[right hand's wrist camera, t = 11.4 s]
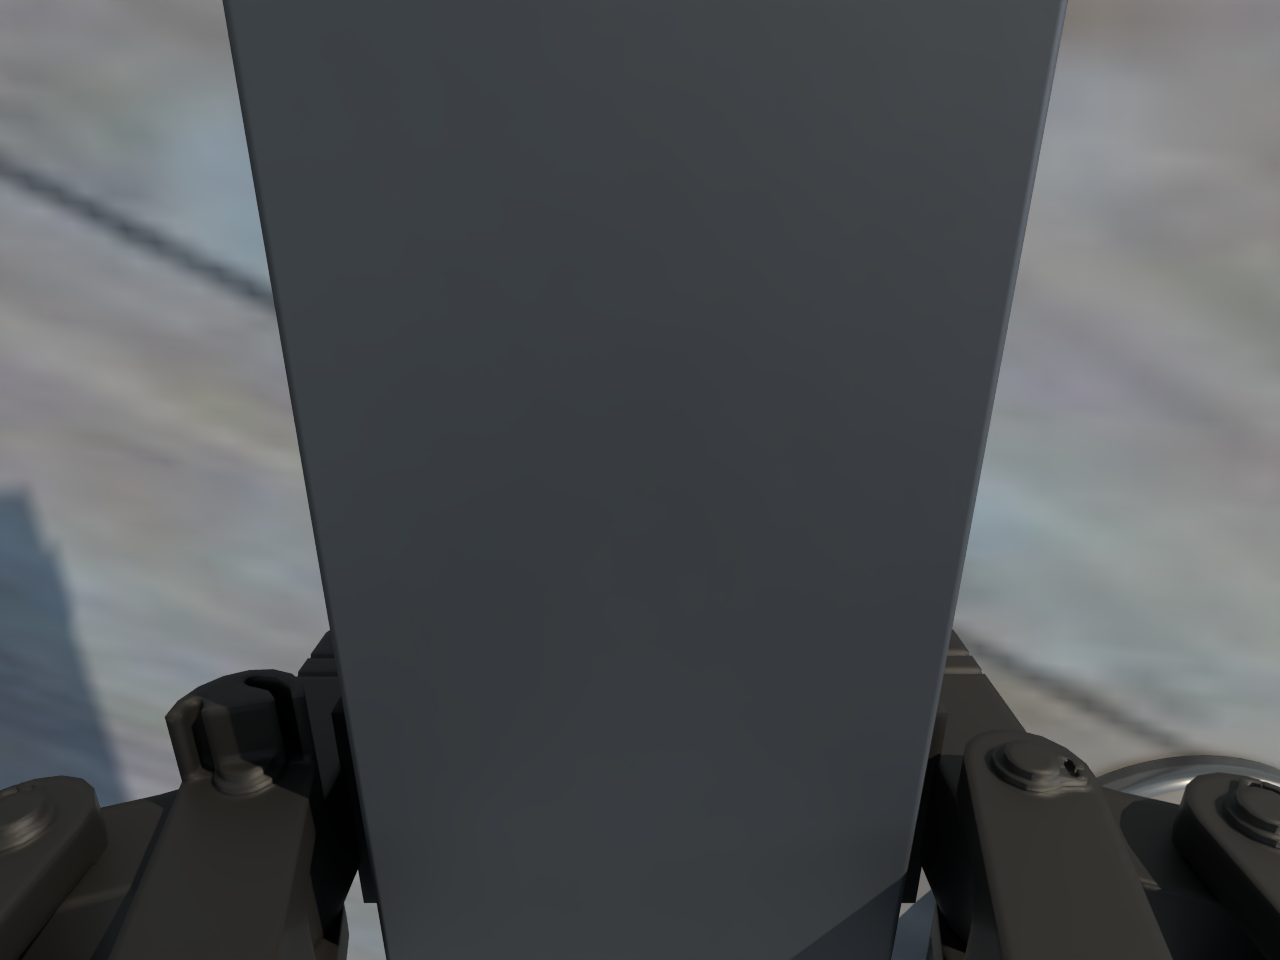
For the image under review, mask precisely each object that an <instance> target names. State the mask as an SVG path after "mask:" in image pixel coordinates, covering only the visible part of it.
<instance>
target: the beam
mask: <svg viewBox="0 0 1280 960" xmlns="http://www.w3.org/2000/svg"><path fill="white" fill-rule="evenodd" d="M1067 2H1068V0H223V6H224V12H225V18H226V23H227V29H228V35H229V41H230V47H231V53H232V59H233V64H234V70H235V76H236V82H237V88H238V94H239V99H240V105H241V111H242V117H243V123H244V129H245V135H246V140H247V146H248V152H249V158H250V164H251V170H252V176H253V181H254V187H255V193H256V199H257V205H258V211H259V217H260V222H261V228H262V234H263V240H264V246H265V252H266V257H267V263H268V269H269V275H270V281H271V287H272V293H273V298H274V304H275V310H276V316H277V322H278V328H279V334H280V339H281V345H282V351H283V357H284V363H285V369H286V375H287V380H288V386H289V392H290V398H291V404H292V410H293V415H294V421H295V427H296V433H297V439H298V445H299V451H300V456H301V462H302V468H303V474H304V480H305V486H306V492H307V497H308V503H309V509H310V515H311V521H312V527H313V532H314V538H315V544H316V550H317V556H318V562H319V568H320V573H321V579H322V585H323V591H324V597H325V603H326V609H327V614H328V620H329V626H330V632H331V638H332V644H333V650H334V655H335V661H336V667H337V673H338V679H339V685H340V690H341V696H342V702H343V708H344V714H345V720H346V726H347V731H348V737H349V743H350V749H351V755H352V761H353V767H354V772H355V778H356V784H357V790H358V796H359V802H360V807H361V813H362V819H363V825H364V831H365V837H366V843H367V848H368V854H369V860H370V866H371V872H372V878H373V884H374V889H375V895H376V901H377V907H378V913H379V919H380V925H381V930H382V936H383V942H384V948H385V954H386V960H891V956H892V951H893V945H894V940H895V935H896V929H897V924H898V918H899V913H900V908H901V902H902V897H903V891H904V886H905V880H906V875H907V870H908V864H909V859H910V853H911V848H912V842H913V837H914V832H915V826H916V821H917V815H918V810H919V805H920V799H921V794H922V788H923V783H924V777H925V772H926V767H927V761H928V756H929V750H930V745H931V740H932V734H933V729H934V723H935V718H936V712H937V707H938V702H939V696H940V691H941V685H942V680H943V674H944V669H945V664H946V658H947V653H948V647H949V642H950V637H951V631H952V626H953V620H954V615H955V609H956V604H957V599H958V593H959V588H960V582H961V577H962V572H963V566H964V561H965V555H966V550H967V544H968V539H969V534H970V528H971V523H972V517H973V512H974V506H975V501H976V496H977V490H978V485H979V479H980V474H981V469H982V463H983V458H984V452H985V447H986V441H987V436H988V431H989V425H990V420H991V414H992V409H993V404H994V398H995V393H996V387H997V382H998V376H999V371H1000V366H1001V360H1002V355H1003V349H1004V344H1005V338H1006V333H1007V328H1008V322H1009V317H1010V311H1011V306H1012V301H1013V295H1014V290H1015V284H1016V279H1017V273H1018V268H1019V263H1020V257H1021V252H1022V246H1023V241H1024V236H1025V230H1026V225H1027V219H1028V214H1029V208H1030V203H1031V198H1032V192H1033V187H1034V181H1035V176H1036V170H1037V165H1038V160H1039V154H1040V149H1041V143H1042V138H1043V133H1044V127H1045V122H1046V116H1047V111H1048V105H1049V100H1050V95H1051V89H1052V84H1053V78H1054V73H1055V68H1056V62H1057V57H1058V51H1059V46H1060V40H1061V35H1062V30H1063V24H1064V19H1065V13H1066V8H1067Z"/></svg>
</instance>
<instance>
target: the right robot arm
mask: <svg viewBox="0 0 1280 960" xmlns="http://www.w3.org/2000/svg"><path fill="white" fill-rule="evenodd" d="M981 671H982V669H981V668H980V667H979V665H978V664H977V662H976V661H975V660H974V658H973V657H972V656H969V651H968V650H967V648H966V647H965V646H964V644H963V643H962V641H961V640H960V639H959V637H958V636H957V634H956V633H955V632H954V630H953V629H952V631H951V637H950V642H949V647H948V653H947V658H946V664H945V669H944V674H943V680H942V685H941V691H940V696H939V702H938V707H937V712H936V718H935V723H934V729H933V734H932V740H931V745H930V750H929V756H928V761H927V767H926V772H925V777H924V783H923V788H922V794H921V799H920V805H919V810H918V815H917V821H916V826H915V832H914V837H913V842H912V848H911V853H910V859H909V864H908V870H907V875H906V880H905V886H904V891H903V897H902V902H901V903H915V902H916V896H917V891H918V885H919V879H920V873H921V868H923V870H924V873H925V875H926V877H927V880H928V882H929V885H930V887H931V889H932V892H933V894H934V896H935V899H936V906H935V911H934V917H933V922H932V927H931V933H930V938H929V943H928V949H927V954H926V959H925V960H1280V770H1279V769H1277V768H1274V767H1271V766H1268V765H1265V764H1262V763H1259V762H1255V761H1250V760H1246V759H1241V758H1234V757H1226V756H1209V755H1200V756H1181V757H1172V758H1164V759H1159V760H1153V761H1148V762H1143V763H1140V764H1136V765H1132V766H1128V767H1125V768H1122V769H1119V770H1116V771H1113V772H1110V773H1107V774H1105V775H1102V776H1100V777H1097V778H1096V777H1095V776H1094V774H1093V773H1092V771H1091V770H1090V769H1089V767H1088V766H1087V764H1086V763H1085V762H1083V761H1082V760H1081V759H1080V758H1078V757H1077V756H1076V755H1074V754H1073V753H1072V752H1071V751H1069V750H1068V749H1067V748H1065V747H1063V746H1061V745H1059V744H1057V743H1055V742H1053V741H1051V740H1048V739H1046V738H1044V737H1042V736H1038V735H1034V734H1031V733H1027V732H1026V731H1025V729H1024V728H1023V727H1022V725H1021V724H1020V722H1019V721H1018V720H1017V718H1016V717H1015V715H1014V714H1013V713H1012V711H1011V710H1010V708H1009V707H1008V706H1007V704H1006V703H1005V701H1004V700H1003V699H1002V697H1001V696H1000V694H999V693H998V692H997V690H996V689H995V688H994V686H993V685H992V683H991V682H990V681H989V679H988V678H987V676H986V675H985V674H982V672H981ZM165 719H166V723H167V727H168V731H169V734H170V738H171V742H172V746H173V749H174V753H175V757H176V761H177V764H178V768H179V772H180V775H181V779H182V783H181V786H180V788H179V789H178V790H174V791H171V792H168V793H164V794H161V795H156V796H152V797H147V798H143V799H138V800H134V801H130V802H125V803H121V804H116V805H112V806H107V807H103V808H100V806H99V802H98V799H97V796H96V793H95V790H94V788H93V787H92V786H91V785H89V784H88V783H87V782H86V781H85V780H83V779H81V778H75V777H68V776H54V777H47V778H39V779H33V780H30V781H27V782H23V783H20V784H18V785H14V786H11V787H8V788H6V789H3V790H1V791H0V960H346V959H347V949H348V940H349V931H348V923H347V917H346V911H345V906H344V901H345V899H346V896H347V894H348V892H349V889H350V887H351V884H352V882H353V880H354V877H355V875H356V872H357V870H358V871H359V877H360V883H361V889H362V894H363V900H364V903H377V901H376V895H375V889H374V884H373V878H372V872H371V866H370V860H369V854H368V848H367V843H366V837H365V831H364V825H363V819H362V813H361V807H360V802H359V796H358V790H357V784H356V778H355V772H354V767H353V761H352V755H351V749H350V743H349V737H348V731H347V726H346V720H345V714H344V708H343V702H342V696H341V690H340V685H339V679H338V673H337V667H336V661H335V655H334V650H333V644H332V638H331V632H330V630H329V631H328V632H326V634H325V635H324V636H323V638H322V639H321V641H320V642H319V643H318V645H317V646H316V648H315V649H314V651H313V652H312V653H311V658H308V659H307V660H306V662H305V663H304V665H303V666H302V667H301V669H300V670H299V672H298V677H295V676H294V675H293V674H291V673H287V672H282V671H278V670H274V669H267V670H248V671H244V672H239V673H235V674H231V675H226V676H223V677H220V678H218V679H216V680H213V681H211V682H209V683H206V684H204V685H201V686H199V687H197V688H196V689H194V690H193V691H192V692H190V693H189V694H187V695H186V696H184V697H183V698H181V699H180V700H178V701H177V702H176V704H175V705H174V706H173V707H172V709H171V710H170V711H169V712H168V714H167V715H166V716H165Z"/></svg>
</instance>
